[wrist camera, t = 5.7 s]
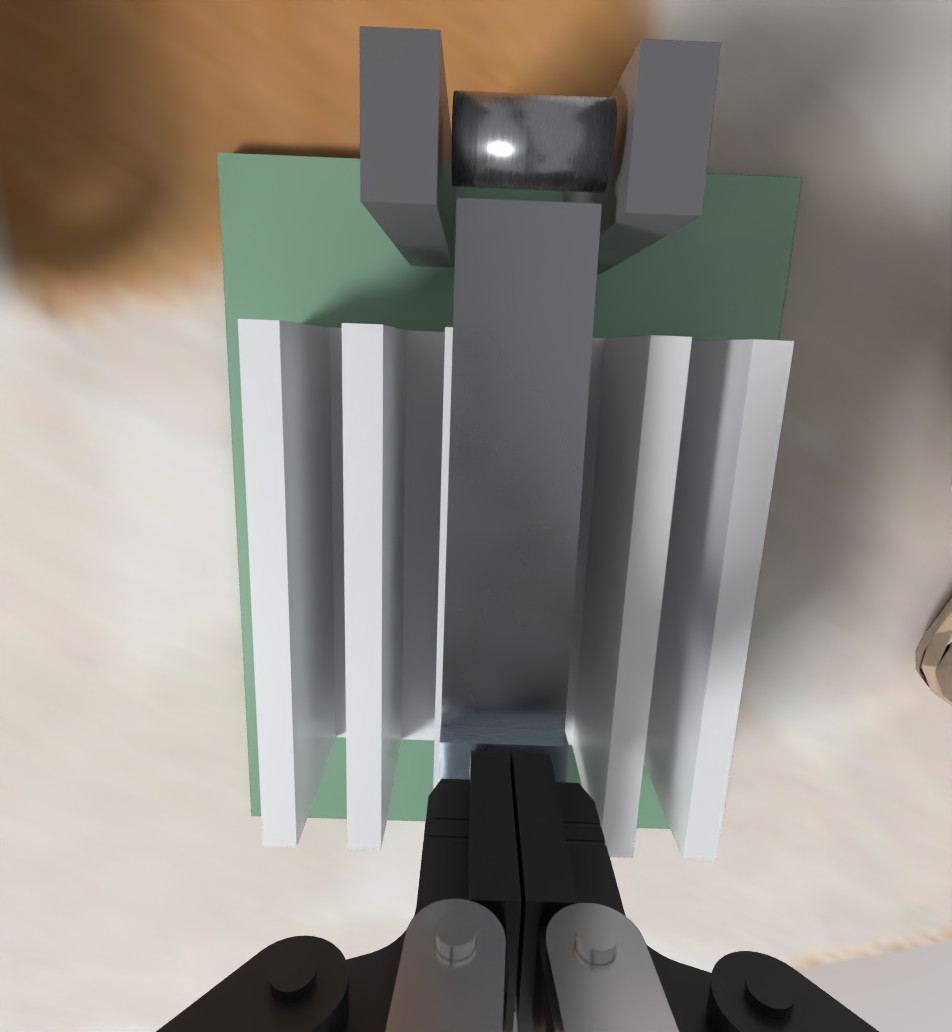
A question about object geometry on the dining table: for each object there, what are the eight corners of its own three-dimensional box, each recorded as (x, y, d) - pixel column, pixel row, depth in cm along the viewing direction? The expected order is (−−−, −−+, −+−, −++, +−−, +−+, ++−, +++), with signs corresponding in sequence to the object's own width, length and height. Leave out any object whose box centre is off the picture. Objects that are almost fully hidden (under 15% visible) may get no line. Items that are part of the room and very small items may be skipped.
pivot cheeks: (413, 178, 19) (359, 26, 10) (604, 186, 19) (721, 42, 10) (412, 268, 19) (360, 200, 10) (597, 275, 19) (701, 215, 11)
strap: (455, 110, 12) (452, 65, 10) (602, 117, 12) (624, 73, 10) (432, 924, 15) (427, 992, 13) (547, 927, 15) (556, 995, 13)
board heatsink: (225, 158, 19) (76, 46, 12) (791, 182, 19) (978, 86, 12) (256, 804, 24) (166, 993, 17) (701, 818, 24) (795, 1011, 17)
